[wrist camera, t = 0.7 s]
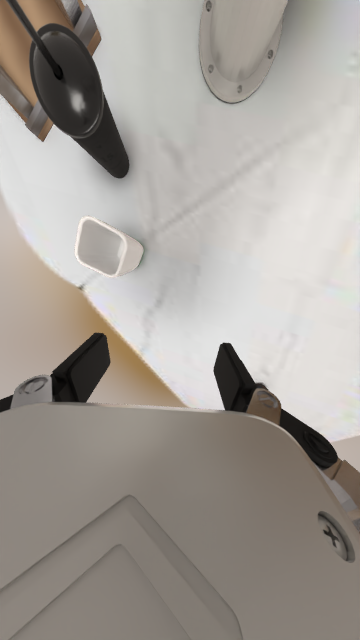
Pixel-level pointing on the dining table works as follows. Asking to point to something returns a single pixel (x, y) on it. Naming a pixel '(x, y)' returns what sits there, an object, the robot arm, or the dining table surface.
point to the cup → (106, 248)
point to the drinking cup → (73, 92)
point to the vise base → (13, 55)
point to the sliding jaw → (70, 10)
